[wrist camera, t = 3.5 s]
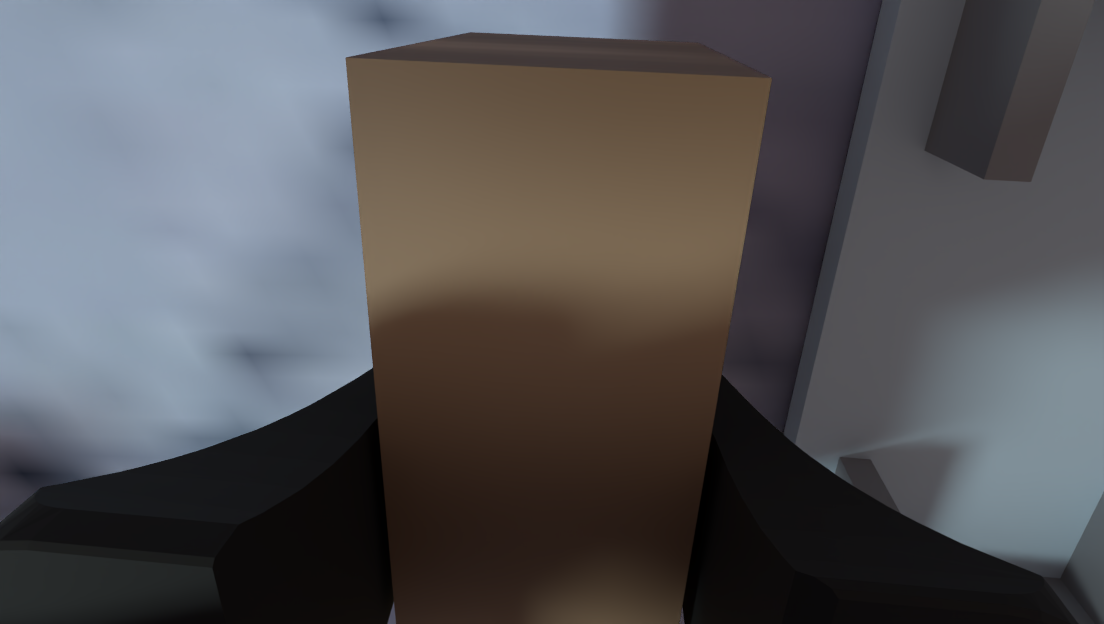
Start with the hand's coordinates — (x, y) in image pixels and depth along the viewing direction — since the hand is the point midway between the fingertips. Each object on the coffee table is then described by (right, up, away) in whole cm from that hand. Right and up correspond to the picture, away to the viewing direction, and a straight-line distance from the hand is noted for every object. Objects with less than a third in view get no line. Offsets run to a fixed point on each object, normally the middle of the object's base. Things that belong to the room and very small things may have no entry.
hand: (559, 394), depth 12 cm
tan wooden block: (0, +1, +2) cm, 2 cm away
